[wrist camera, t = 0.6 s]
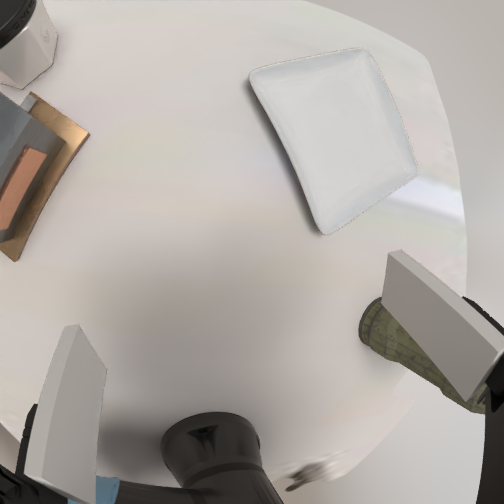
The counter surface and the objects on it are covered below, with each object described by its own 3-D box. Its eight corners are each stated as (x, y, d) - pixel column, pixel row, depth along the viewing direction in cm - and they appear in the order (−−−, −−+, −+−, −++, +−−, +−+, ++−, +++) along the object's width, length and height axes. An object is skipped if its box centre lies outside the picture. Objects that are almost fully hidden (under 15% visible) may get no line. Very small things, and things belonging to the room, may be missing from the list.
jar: (52, 81, 21) (15, 31, 10) (-4, 99, 18) (-52, 66, 7) (63, 23, 19) (43, -34, 8) (9, 40, 16) (-24, -4, 5)
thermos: (375, 281, 41) (584, 367, 8) (404, 313, 45) (566, 388, 13) (343, 329, 40) (541, 453, 8) (378, 354, 45) (532, 450, 13)
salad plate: (235, 81, 29) (245, 70, 26) (355, 52, 33) (369, 45, 30) (309, 236, 36) (324, 240, 32) (405, 173, 40) (421, 173, 37)
